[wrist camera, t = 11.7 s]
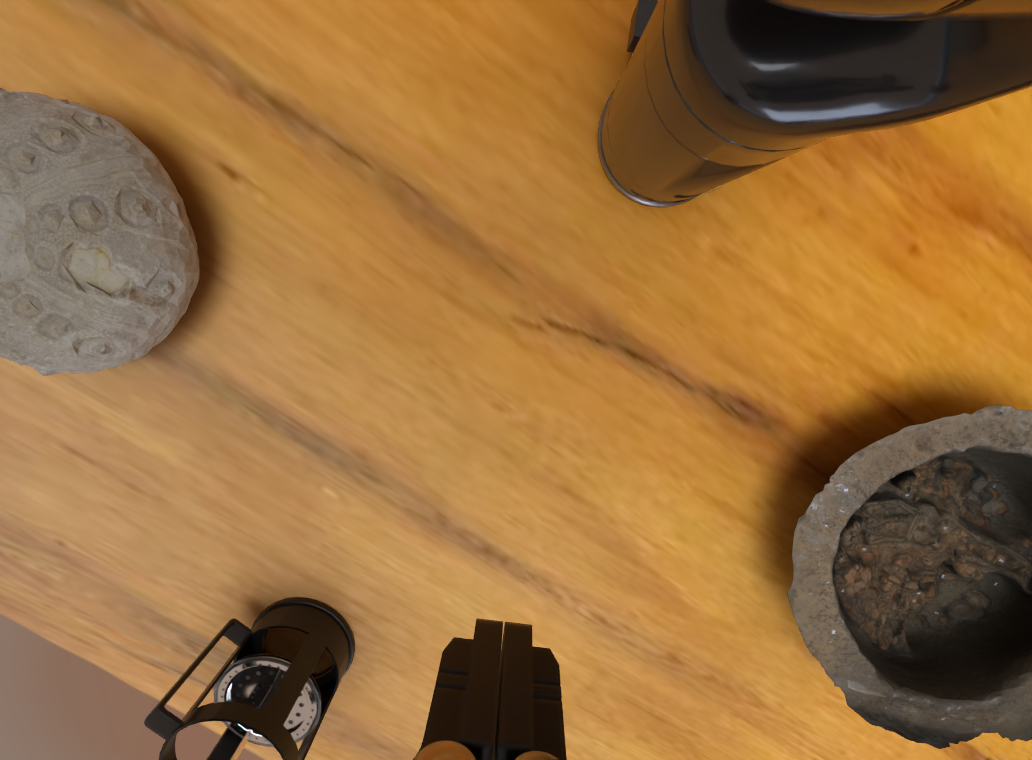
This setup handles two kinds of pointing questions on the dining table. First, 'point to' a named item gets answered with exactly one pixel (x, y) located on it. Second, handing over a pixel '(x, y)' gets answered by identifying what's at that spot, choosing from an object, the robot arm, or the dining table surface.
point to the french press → (266, 684)
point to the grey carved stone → (86, 239)
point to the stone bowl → (926, 578)
